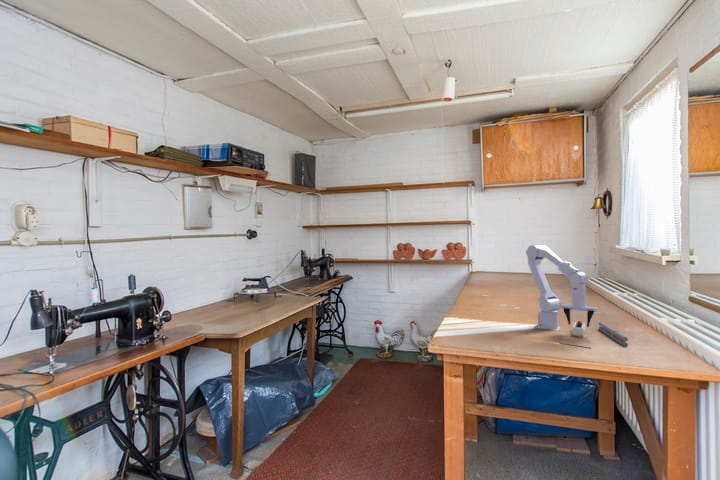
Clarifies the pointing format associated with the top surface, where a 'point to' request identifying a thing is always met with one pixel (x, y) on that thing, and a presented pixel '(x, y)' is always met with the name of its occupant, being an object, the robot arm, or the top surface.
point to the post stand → (578, 336)
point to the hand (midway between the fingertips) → (578, 325)
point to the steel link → (578, 330)
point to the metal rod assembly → (613, 334)
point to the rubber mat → (575, 345)
